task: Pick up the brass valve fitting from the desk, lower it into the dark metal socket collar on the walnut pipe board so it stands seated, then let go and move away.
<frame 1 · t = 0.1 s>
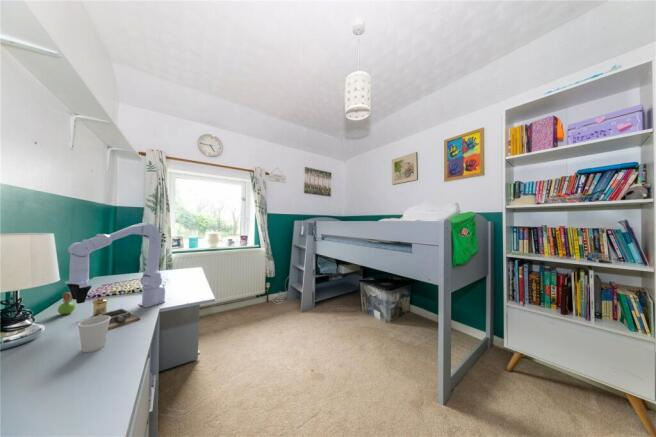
hand: (78, 300, 98), 10 cm above the table, tool pointing down, fingers open, 7 cm apart
valve fitting: (99, 315, 107), on the table
dixie cup: (93, 348, 81), on the table
pipe board: (115, 320, 102), on the table
snail figurine: (67, 314, 107), on the table
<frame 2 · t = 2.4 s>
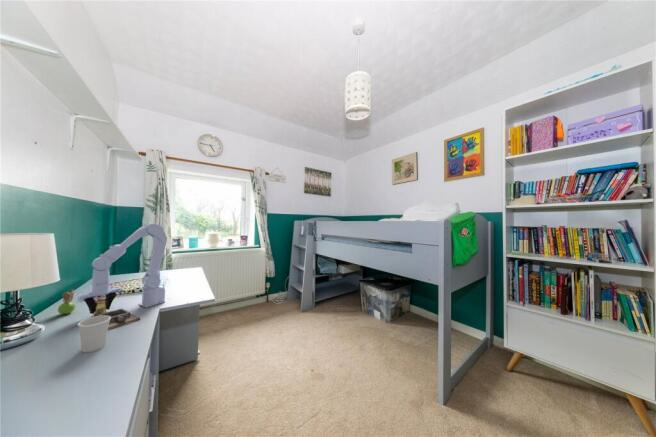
hand: (99, 311, 107), 2 cm above the table, tool pointing down, fingers closed on valve fitting, 5 cm apart
valve fitting: (99, 315, 107), on the table, touching gripper
everything else where it was.
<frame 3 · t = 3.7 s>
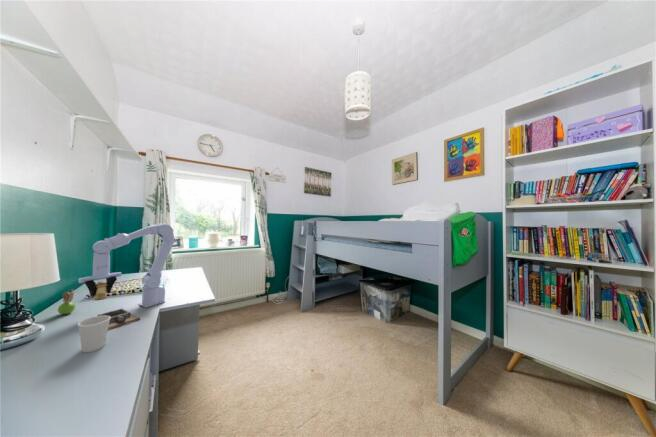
hand: (100, 294, 107), 10 cm above the table, tool pointing down, fingers closed on valve fitting, 5 cm apart
valve fitting: (99, 298, 106), point 8 cm above the table, touching gripper
everything else where it was.
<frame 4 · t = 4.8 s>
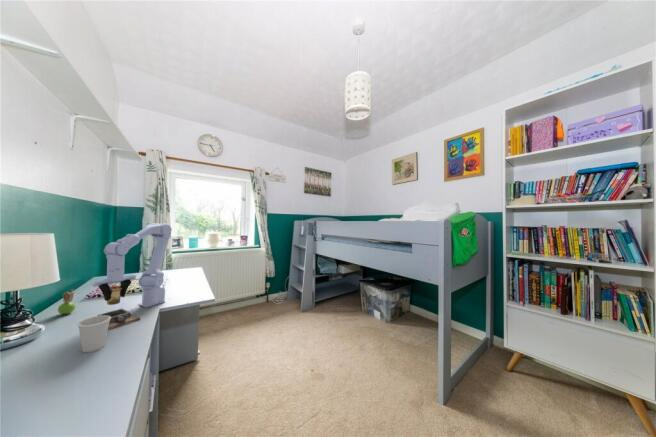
hand: (114, 298, 102), 10 cm above the table, tool pointing down, fingers closed on valve fitting, 5 cm apart
valve fitting: (113, 302, 102), point 8 cm above the table, touching gripper
everything else where it was.
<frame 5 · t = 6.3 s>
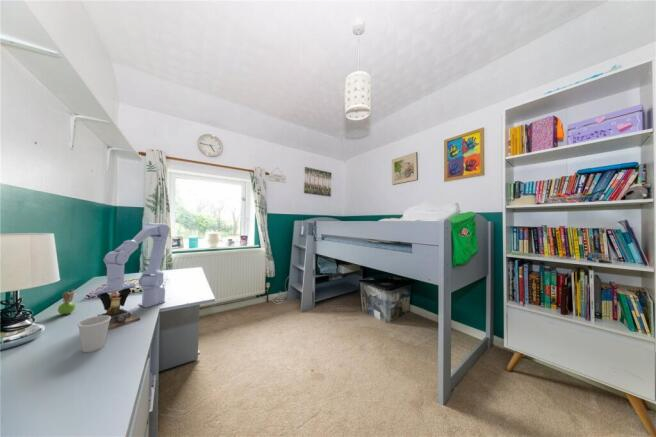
hand: (114, 307, 102), 6 cm above the table, tool pointing down, fingers closed on valve fitting, 5 cm apart
valve fitting: (113, 311, 102), point 4 cm above the table, touching gripper
everything else where it was.
when the fingers open (4 cm above the table, at t = 7.7 s): valve fitting stays where it is, resting on pipe board.
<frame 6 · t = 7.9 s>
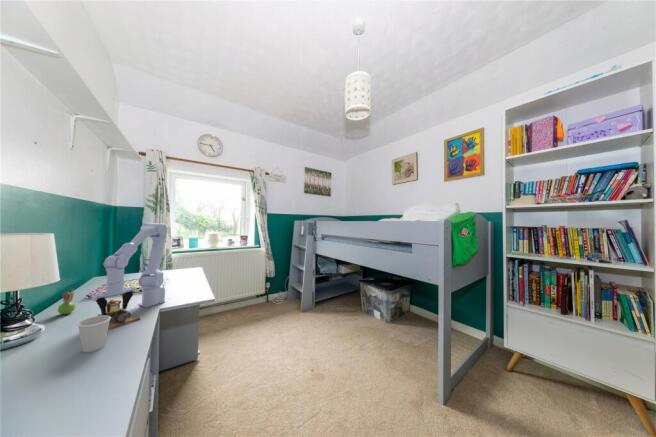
hand: (114, 311, 102), 4 cm above the table, tool pointing down, fingers open, 7 cm apart
valve fitting: (112, 317, 102), point 1 cm above the table, touching pipe board
everything else where it was.
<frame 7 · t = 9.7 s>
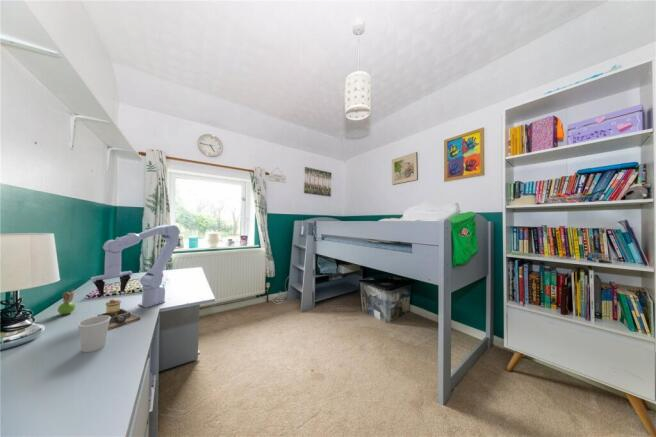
hand: (112, 293, 107), 10 cm above the table, tool pointing down, fingers open, 7 cm apart
nothing on the table moved.
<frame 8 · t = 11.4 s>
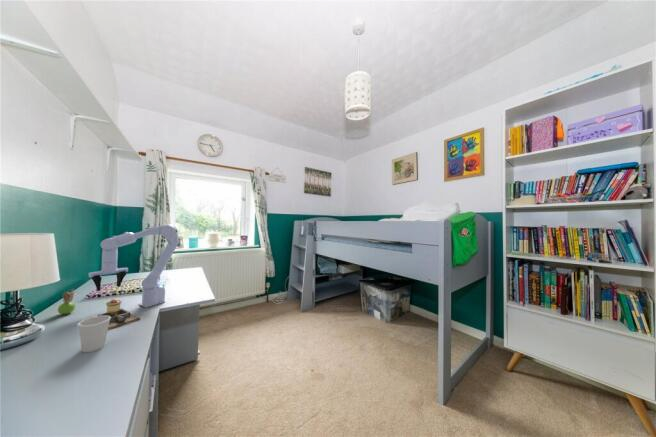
hand: (108, 288, 114), 10 cm above the table, tool pointing down, fingers open, 7 cm apart
nothing on the table moved.
at the end: valve fitting 0.6 cm from the target spot on the pipe board, point 1.1 cm above the pipe board's base; valve fitting tilted 2°; the gripper is holding nothing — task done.
